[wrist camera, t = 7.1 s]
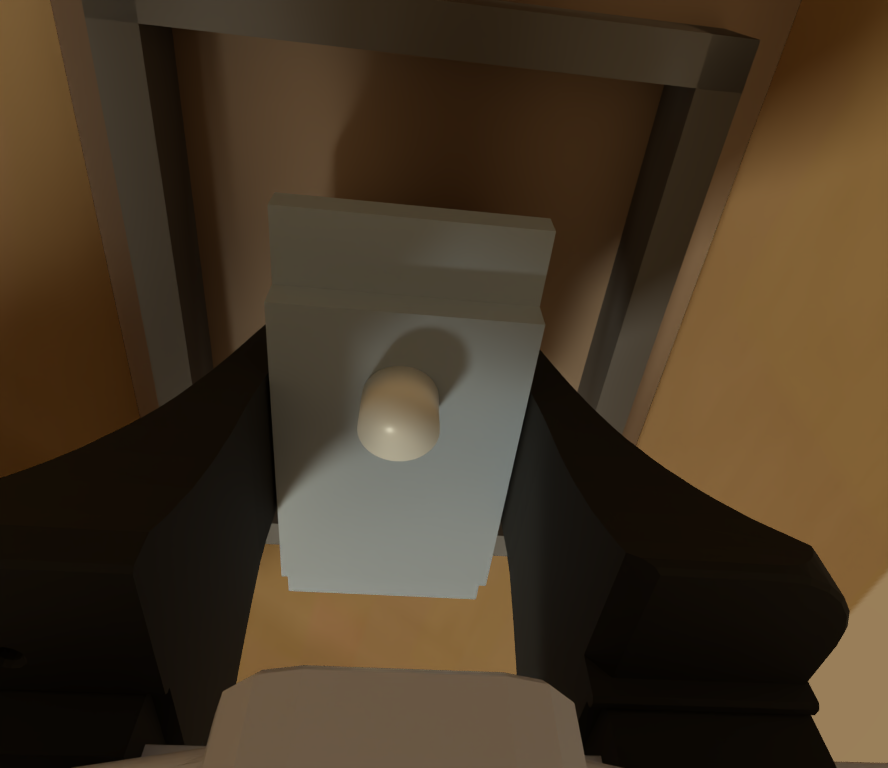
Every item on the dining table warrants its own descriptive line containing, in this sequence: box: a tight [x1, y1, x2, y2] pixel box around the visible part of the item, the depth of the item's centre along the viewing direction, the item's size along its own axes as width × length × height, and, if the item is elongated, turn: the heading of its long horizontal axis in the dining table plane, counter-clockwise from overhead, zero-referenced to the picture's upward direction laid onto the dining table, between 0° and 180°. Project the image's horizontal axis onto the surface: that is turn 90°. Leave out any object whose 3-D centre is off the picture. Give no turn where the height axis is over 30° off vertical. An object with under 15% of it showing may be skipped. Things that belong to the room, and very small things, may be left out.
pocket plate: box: [50, 0, 801, 556], centre depth 14 cm, size 13×14×2 cm
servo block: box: [264, 192, 556, 599], centre depth 12 cm, size 4×8×5 cm, turn 174°
